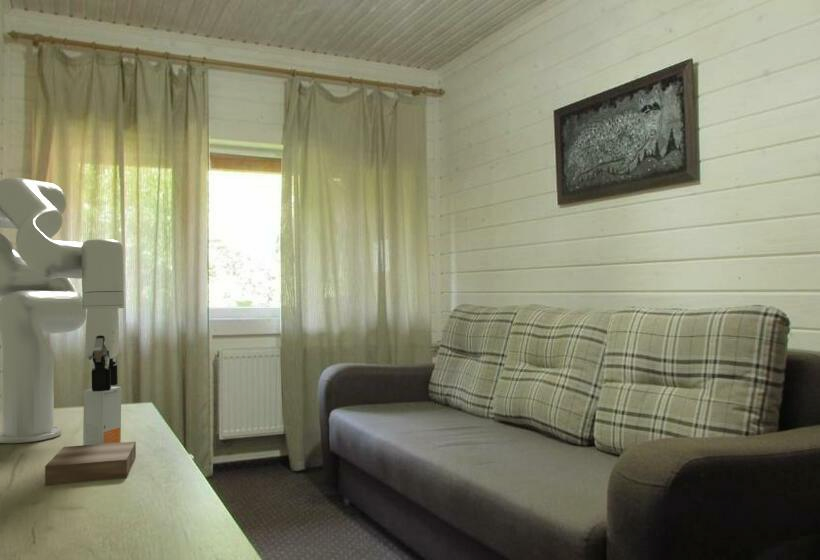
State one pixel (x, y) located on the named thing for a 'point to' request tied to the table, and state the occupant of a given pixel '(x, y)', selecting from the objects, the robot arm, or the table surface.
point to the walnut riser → (91, 463)
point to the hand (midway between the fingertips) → (105, 387)
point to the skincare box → (102, 416)
